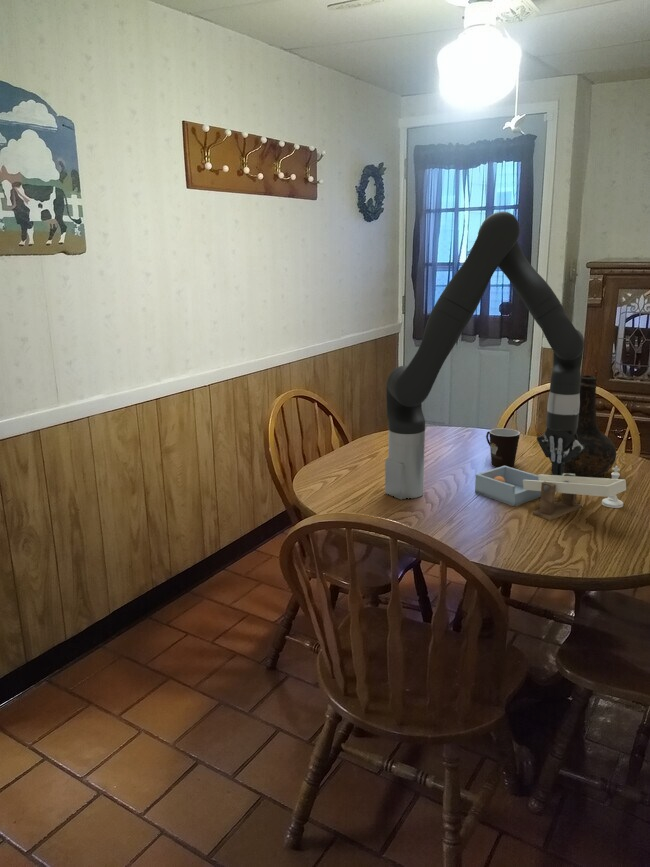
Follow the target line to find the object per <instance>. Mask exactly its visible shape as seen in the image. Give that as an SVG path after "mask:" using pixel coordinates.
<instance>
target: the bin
mask: <svg viewBox="0 0 650 867" xmlns="http://www.w3.org/2000/svg"><path fill="white" fill-rule="evenodd" d="M538 475H539V474H535V473H531V472H528V471H523V470H521V469H517V468H514V467H512V468H511V467H508V466H501V467H498V468H497V467H494V468H492V469H489V470H485V471H482V472H479V473H476V474H475V484H474V493H475V494H478V495H481V496H484V497H485V498H489V499H491V500H492V499H493V500H494V501H498V502H501V503H504V504H507V505H509V506H512V507H517V506H520V505H523V504H525V503H527V502H531V501H533V500H535V499H538V498H541V491H533V490H524V488H523V480H538V481H539V479H538ZM497 476H501V477H503V478H504V479H505V483H504V482H501V481H498V480H495V479H494V478H495V477H497Z"/></svg>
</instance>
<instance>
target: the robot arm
mask: <svg viewBox="0 0 650 867" xmlns="http://www.w3.org/2000/svg"><path fill="white" fill-rule="evenodd" d="M520 228H521V227H520V224H519V221H518V219H517V217H516V216H515V215H514V214H513V213H512V212H511V213H510V212H509V211H496V212H495V213H492V214H490V215H489V216H487V217H486V218H485V219H484V220H483V221H482V224H481V225H480V227H479V229H478V232H477V237H476V239H475V241H474V243H473V245H472V247H471V249H470V252H469V254H468V256H467V257H466V259H464V260H465V261H464V262H463V264H462V265H461V266H460V268H459V269H458V270H457V272H456V273H455V274H454V275H453V276H452V278H451V280H450V281H449V282H448V284H447V285H446V287H445V288H444V289H443V291H442V293H441V294H440V296H439V298H438V299H437V301H436V303H435V304H434V306H433V308H432V310H431V311H430V314H429V316H428V318H427V321H426V324H425V328H424V332H423V336H422V338H421V342H420V345H419V347H418V349H417V351H416V353H415V355H414V356H413V358H412V359H411V361H410V362H409V363H408V365H400V366H397V367H395V368H394V369H393V370H392V371H391V372H390V374H389V375H388V378H387V379H386V380H387V381H386V415H387V422H388V450H387V451H388V453H387V455H388V457H387V458H385V460H384V462H385V464H384V465H385V467H384V469H385V470H384V471H385V473H384V493H385V494H386V495H388V494H389V495H388V496H391V497H393V496H394V498H396V499H398V500H406V498H408V499H409V498H411V499H416V498H420V497H421V496H423V495H424V487H425V486H424V484H425V483H424V481H425V479H424V478H425V448H426V447H425V442H426V440H425V439H426V438H425V437H426V419H425V416H424V413H423V408H422V406H423V405H422V403H423V402H424V401H425V400H426V399H427V398H428V396H429V394H430V392H431V391H432V388H433V386H434V384H435V381H436V380H437V377H438V375H439V373H440V371H441V369H442V367H443V365H444V363H445V362H446V359H447V358H448V356H449V355H450V353H451V351H452V350H453V348H454V347H455V345H456V343H457V341H458V340H459V338H460V337H461V335H462V333H463V332H464V331H465V329H466V327H468V325H469V322H470V321H471V320H472V318H473V316H474V314H475V312H476V310H477V309H478V306H479V305H480V302H481V300H482V299H483V296H484V294H485V292H486V290H487V288H488V286H489V283H490V281H491V278H492V277H493V275H494V273H495V271H496V270H497V269H498V268H499V269H500V271H501V272H502V273H503V274H504V275H505V277H506V278H507V279H508V280H509V282H510V284H511V286H513V288H514V289H515V291H516V293H517V294H518V296H519V297H520V299H521V301H522V302H523V304H524V306H525V308H526V309H527V310H528V311H529V314H531V316H532V318H533V320H534V321H535V323H536V324H537V325H538V327H539V328H540V329H541V331H542V333H543V335H544V336H545V340H546V341H547V343H548V344H549V346H550V348H551V350H552V351H553V359H552V360H553V361H552V370H551V375H550V384H549V394H548V399H547V405H546V406H547V408H546V409H547V410H546V420H545V425H546V426H545V427H546V429H545V431H544V434H541V435H539V436H536V441H537V443H538V445H539V447H540V448H541V450H542V452H543V454H544V457H546V458H547V459H549V458H550V459H551V460H552V463H551V469H550V470H551V474H552V475H559V476H562V474H564V469H565V463H567V462H569V461H572V460H573V459H574V458H575V457H576V456H577V455H579V454H580V453H581V452H582V451H583V450H584V449H585V446H584V445H581V444H580V443H579V442H578V441H577V439H578V437H577V434H576V431H577V428H578V418H579V409H580V408H579V407H580V384H581V376H582V372H581V370H582V369H581V368H582V362H583V355H584V348H585V339H584V336H583V334H582V332H580V330H578V329H576V328H575V326H574V324H573V322H572V321H571V320H570V319H569V317H568V316H567V313H566V310H565V308H564V306H563V304H562V303H561V301H560V300H559V298H558V297H557V295H556V293H555V292H554V291H553V289H552V287H551V286H550V285H549V284H548V282H547V281H546V280H545V279H544V278H543V277H542V276H541V275H540V274H539V273H538V271H536V269H535V268H534V267H533V266H532V265H531V263H530V261H529V260H528V259H527V257H526V256H525V254H524V252H523V250H522V249H521V247H520V244H519V242H518V239H519V238H520V231H521V230H520ZM572 445H573V447H572V451H571V452H570V453H569V449H570V447H571V446H572ZM568 453H569V454H568ZM550 459H549V460H550Z"/></svg>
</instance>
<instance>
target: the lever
mask: <svg viewBox="0 0 650 867" xmlns="http://www.w3.org/2000/svg"><path fill="white" fill-rule="evenodd" d="M564 474H568V473H564ZM564 474H562V476H559V475H553V474H542V473H541V474H537V475H538V479H539V481H538V480H523V488H524V490H533V491H541V486H542V482H548V483H551V484H555V485H556V488H555V493H556V494H558V493H559V494H563V493H569V494H576V495H582V496H594V497H605V498H608V497H611V496H613V495H616V494H617V495H618V494H620V493H622V492H624V491H627V482H626V479H624V478H623V479H622V478H618V479H612V478H605V477H596V478H592V477H575V474H570V475H574V476H564Z"/></svg>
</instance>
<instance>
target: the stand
mask: <svg viewBox="0 0 650 867" xmlns="http://www.w3.org/2000/svg"><path fill="white" fill-rule="evenodd" d="M564 476H574V475H570V474H564ZM575 477H577V476H575ZM555 488H556V485H555V484H551V483H548V482H542V486H541V497H540V500H539V501H540V502H539V508H538V509H536V510H534V511H532V515H534V516H537V517H540V518H543V519H545V520H548V521H553V520H555V519H558V518H560V517H562V516H565V515H567V514H569V513H572V512H575V511H577V510H579V509H581V508H583V504H581V503H577V502H576V501H577V494H569V493H561V494H562V495H561V496H562V497H561V500H560V501H557V502H555V499H556V492H555Z"/></svg>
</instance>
